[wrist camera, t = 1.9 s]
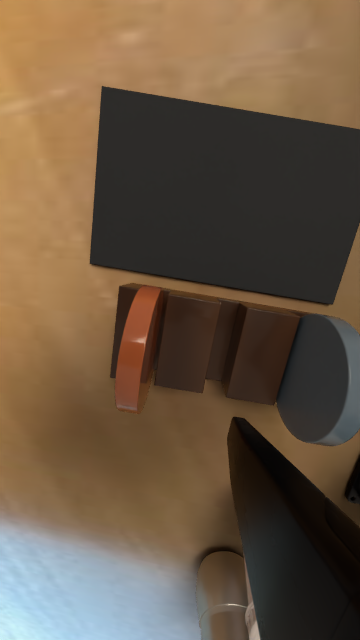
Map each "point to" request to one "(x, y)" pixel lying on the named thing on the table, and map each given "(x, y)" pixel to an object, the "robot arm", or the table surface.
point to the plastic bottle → (222, 597)
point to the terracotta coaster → (139, 349)
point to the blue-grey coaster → (322, 382)
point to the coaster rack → (217, 343)
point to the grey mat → (224, 195)
